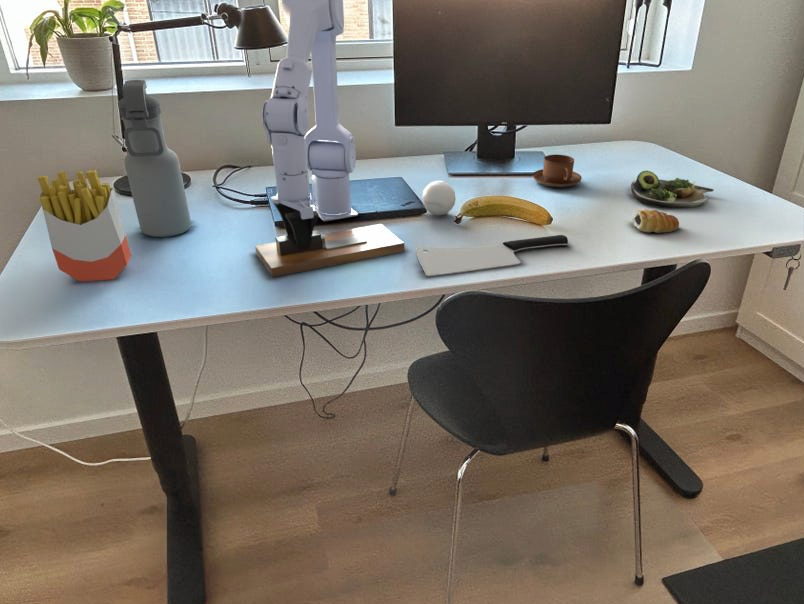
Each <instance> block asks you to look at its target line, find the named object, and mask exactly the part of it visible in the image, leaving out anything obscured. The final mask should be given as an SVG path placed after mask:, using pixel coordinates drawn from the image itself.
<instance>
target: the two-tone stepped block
mask: <svg viewBox="0 0 804 604" xmlns="http://www.w3.org/2000/svg"><path fill="white" fill-rule="evenodd" d="M321 234H322V233H320V232H319V231H318V230H317V229H316V230H313V234H312V241H311V247H310V249H305V250H299V249H298V247H297V244H296V241H295V237H294V234H292V235H287V234H286V235H281V236H276V237H275V242H276V247H277V252H278V253H279V254H280V256H284V255H289V254H294V253H300V252H305V251H311V250H316V249H322V248H323V249H324V248H326V249H327V250H330V249H336V248H341V247H346V246H352V245H357V244H362V243H367V241H366V240H365V239H364V238H363V237H362V236H361V235H357V236H352V237H346V238H340V239H335V240H329V241H325V238H324V237H323V236H322V235H321Z"/></svg>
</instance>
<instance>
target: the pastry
mask: <svg viewBox="0 0 804 604" xmlns="http://www.w3.org/2000/svg"><path fill="white" fill-rule="evenodd" d="M632 222H633V226H634V227H635V228H636V229H638V230H639V231H640V232H643V233H652V232H654V233H655V234H656V233H657V234H661V233H670V232H674V231H676V230H678V229H679V228H680V222H679V219H678V218H677V217H676V216H675V215H673V214H667V212H663V211H658V210H656V209H651V210H649V209H642V210H641V209H640V210H636V213H635V214H634V215H633V217H632Z"/></svg>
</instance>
